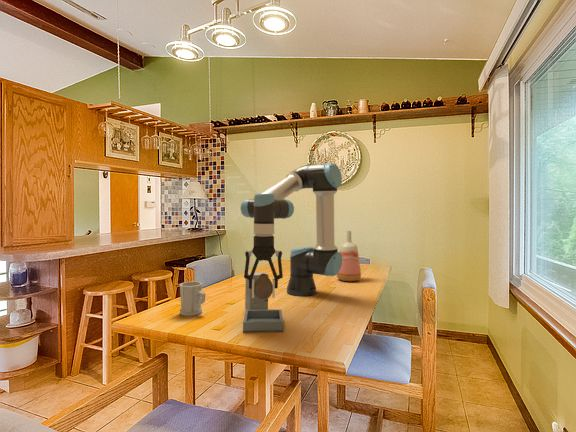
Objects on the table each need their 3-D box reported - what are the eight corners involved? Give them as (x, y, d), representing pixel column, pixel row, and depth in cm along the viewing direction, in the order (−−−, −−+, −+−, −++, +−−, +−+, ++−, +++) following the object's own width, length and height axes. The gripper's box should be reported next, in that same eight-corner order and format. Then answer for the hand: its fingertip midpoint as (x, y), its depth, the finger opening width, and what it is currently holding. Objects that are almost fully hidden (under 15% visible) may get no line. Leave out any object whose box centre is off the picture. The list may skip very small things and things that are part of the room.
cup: (206, 308, 142) (206, 281, 141) (205, 315, 133) (205, 286, 132) (181, 310, 140) (181, 281, 139) (177, 317, 131) (177, 287, 130)
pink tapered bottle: (331, 279, 199) (332, 230, 199) (346, 276, 209) (346, 229, 208) (351, 284, 189) (351, 232, 188) (365, 280, 199) (366, 231, 198)
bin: (281, 318, 130) (281, 309, 130) (283, 331, 116) (283, 321, 116) (245, 318, 130) (245, 309, 129) (242, 332, 116) (243, 322, 115)
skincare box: (250, 314, 135) (250, 275, 134) (244, 309, 141) (244, 272, 141) (269, 311, 139) (269, 274, 138) (262, 307, 145) (262, 270, 144)
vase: (254, 295, 126) (254, 272, 125) (272, 295, 126) (272, 272, 126) (253, 300, 119) (253, 276, 119) (273, 300, 119) (273, 276, 119)
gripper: (289, 234, 126) (289, 294, 127) (237, 234, 125) (237, 294, 126) (291, 236, 119) (290, 299, 119) (235, 235, 118) (235, 300, 118)
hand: (263, 297), depth 123 cm, fingers closed on vase, 7 cm apart
